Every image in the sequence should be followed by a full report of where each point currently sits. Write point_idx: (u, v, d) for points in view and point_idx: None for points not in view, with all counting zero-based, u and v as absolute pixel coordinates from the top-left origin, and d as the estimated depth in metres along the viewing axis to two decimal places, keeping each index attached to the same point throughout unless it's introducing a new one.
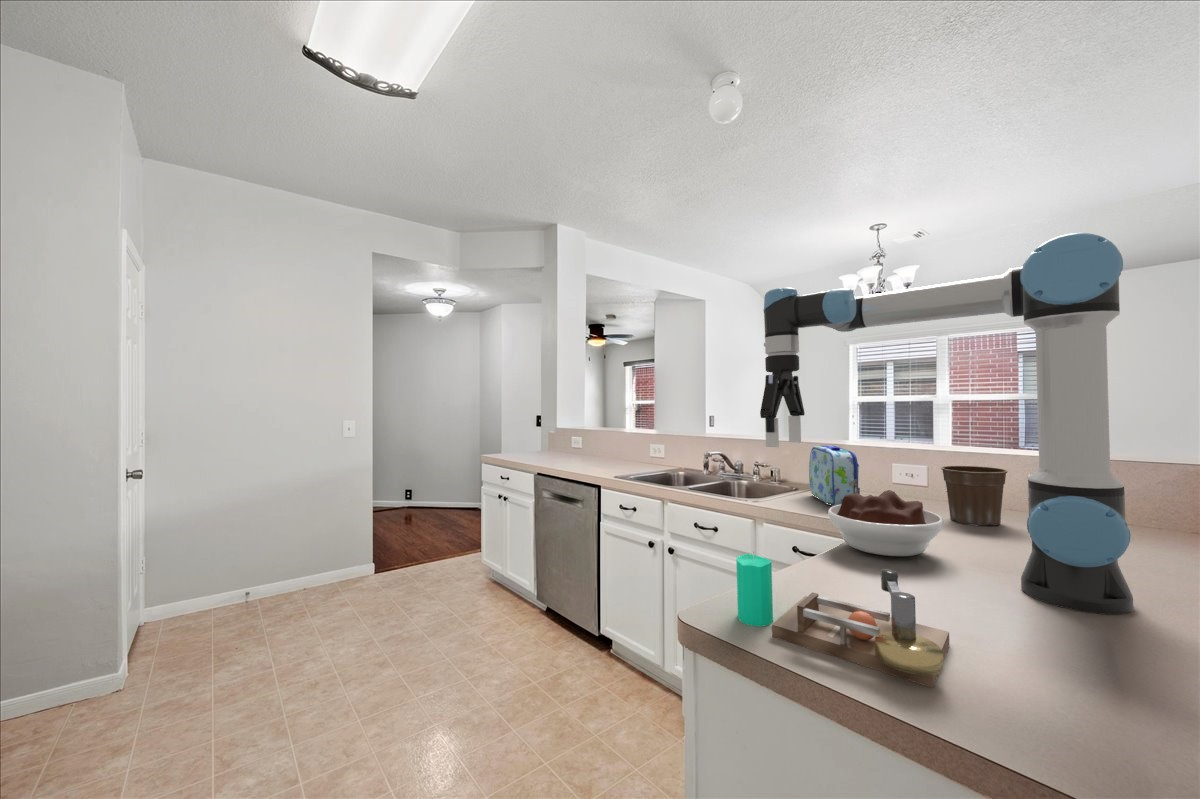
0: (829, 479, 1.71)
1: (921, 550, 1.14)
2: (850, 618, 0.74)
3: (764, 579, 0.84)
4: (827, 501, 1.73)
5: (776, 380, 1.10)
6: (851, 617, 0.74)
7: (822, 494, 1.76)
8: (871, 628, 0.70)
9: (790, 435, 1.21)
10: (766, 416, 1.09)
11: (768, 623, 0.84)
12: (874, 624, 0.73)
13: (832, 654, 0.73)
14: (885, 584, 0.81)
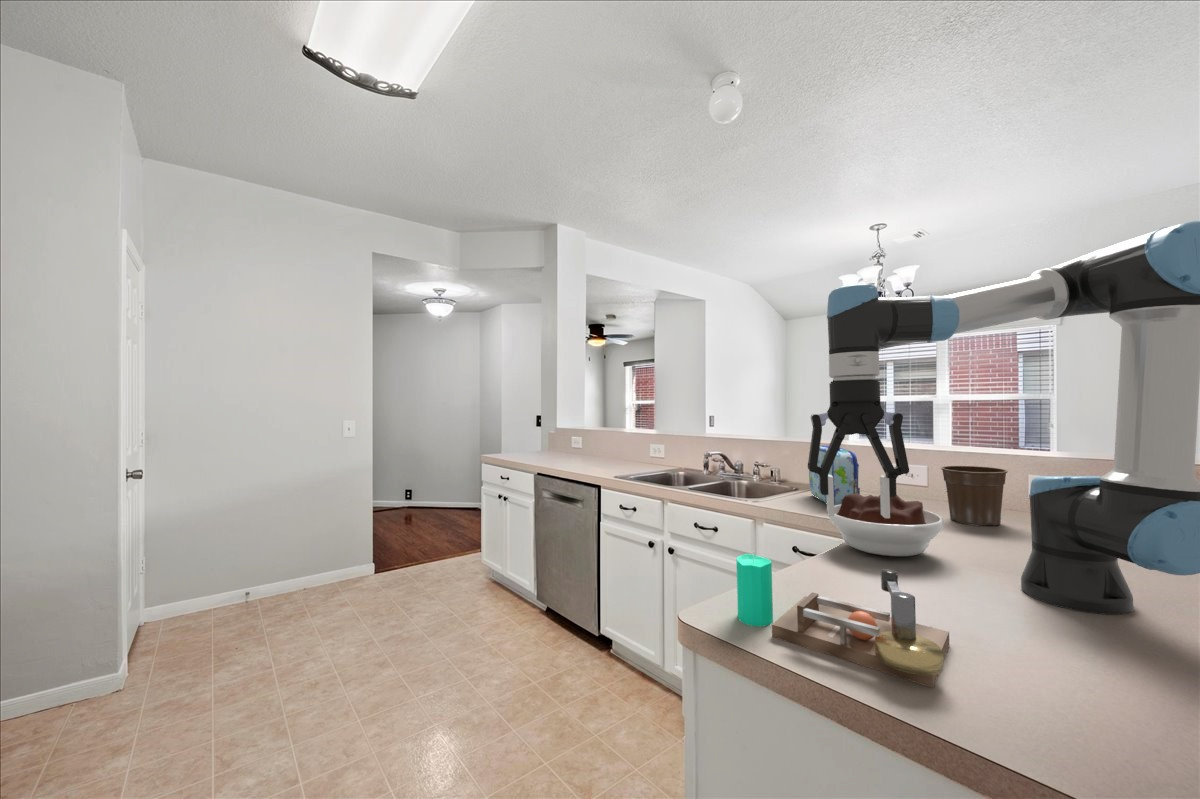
0: None
1: (921, 550, 1.14)
2: (850, 618, 0.74)
3: (764, 579, 0.84)
4: None
5: None
6: (851, 617, 0.74)
7: None
8: (871, 628, 0.70)
9: None
10: None
11: (768, 623, 0.84)
12: (874, 624, 0.73)
13: (832, 654, 0.73)
14: (885, 584, 0.81)
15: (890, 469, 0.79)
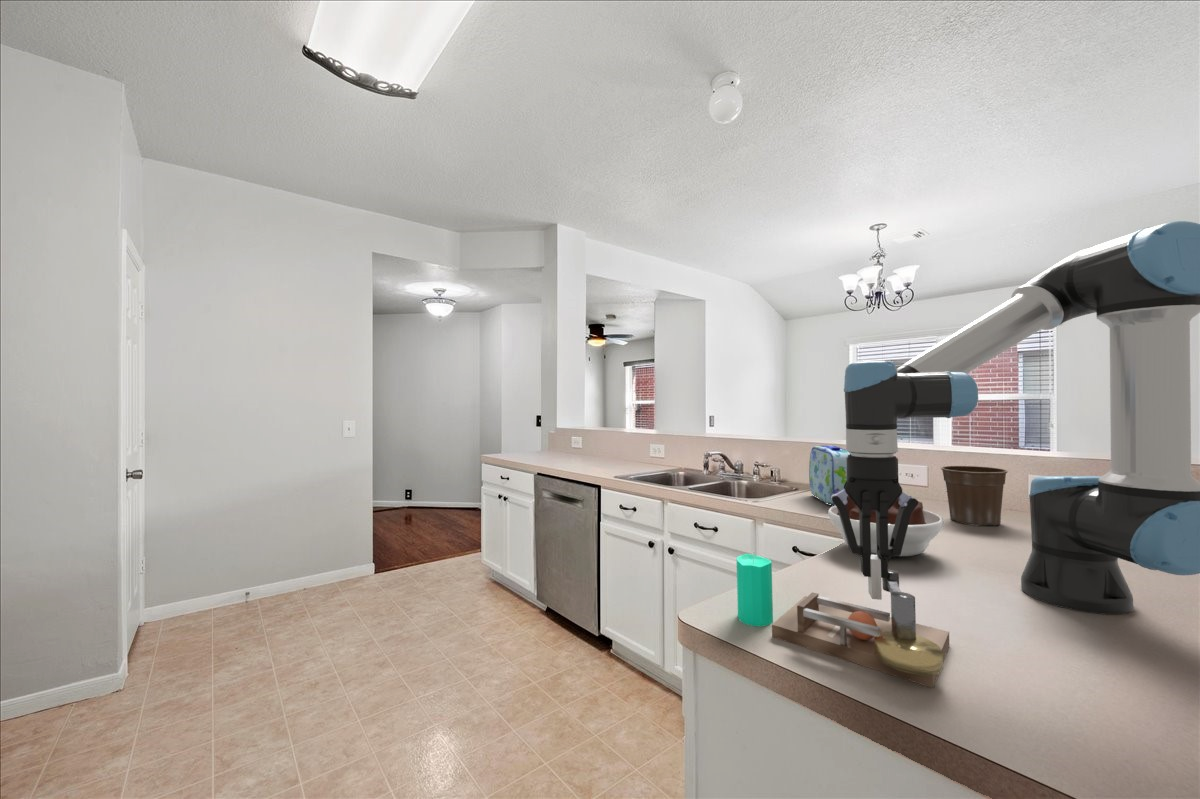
0: (829, 479, 1.71)
1: (921, 550, 1.14)
2: (850, 618, 0.74)
3: (765, 580, 0.84)
4: (827, 501, 1.73)
5: None
6: (851, 617, 0.74)
7: (822, 494, 1.76)
8: (871, 628, 0.70)
9: None
10: None
11: (768, 623, 0.84)
12: (874, 624, 0.73)
13: (832, 654, 0.73)
14: (886, 584, 0.81)
15: (884, 550, 0.79)
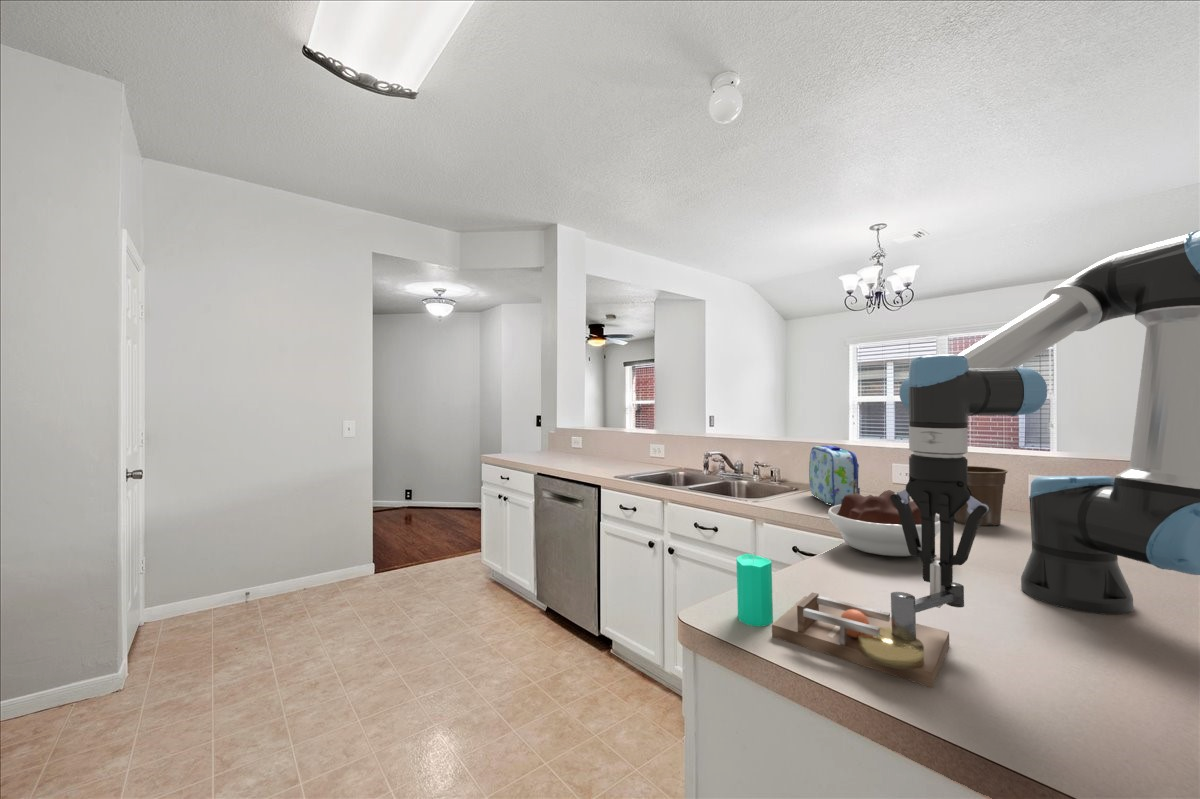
0: (829, 479, 1.71)
1: None
2: (842, 616, 0.75)
3: (765, 579, 0.84)
4: (827, 501, 1.73)
5: None
6: (844, 615, 0.75)
7: (822, 494, 1.76)
8: (871, 628, 0.70)
9: None
10: None
11: (768, 623, 0.84)
12: (866, 622, 0.73)
13: (832, 654, 0.73)
14: None
15: (944, 557, 0.74)
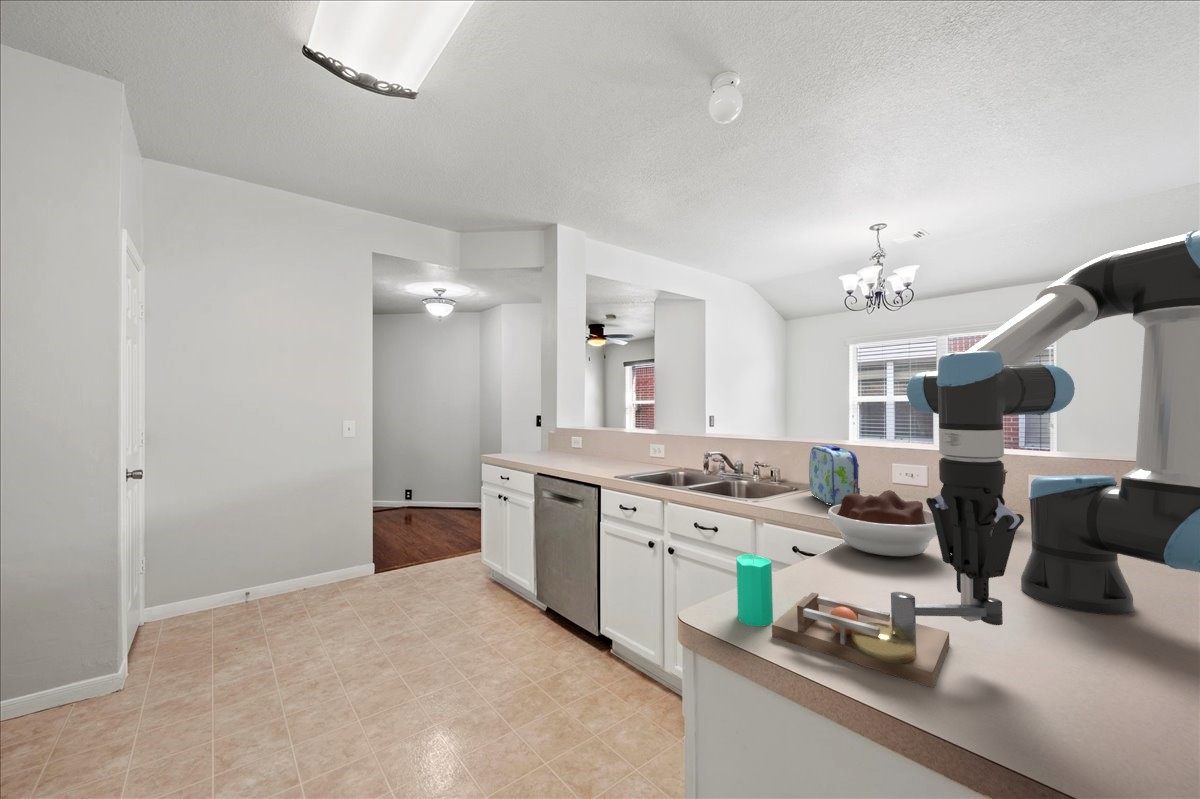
0: (829, 479, 1.71)
1: (921, 550, 1.14)
2: (832, 613, 0.76)
3: (764, 580, 0.84)
4: (827, 501, 1.73)
5: None
6: (833, 612, 0.76)
7: (822, 494, 1.76)
8: (871, 628, 0.70)
9: None
10: None
11: (768, 623, 0.84)
12: (855, 619, 0.74)
13: (832, 654, 0.73)
14: None
15: (973, 568, 0.70)
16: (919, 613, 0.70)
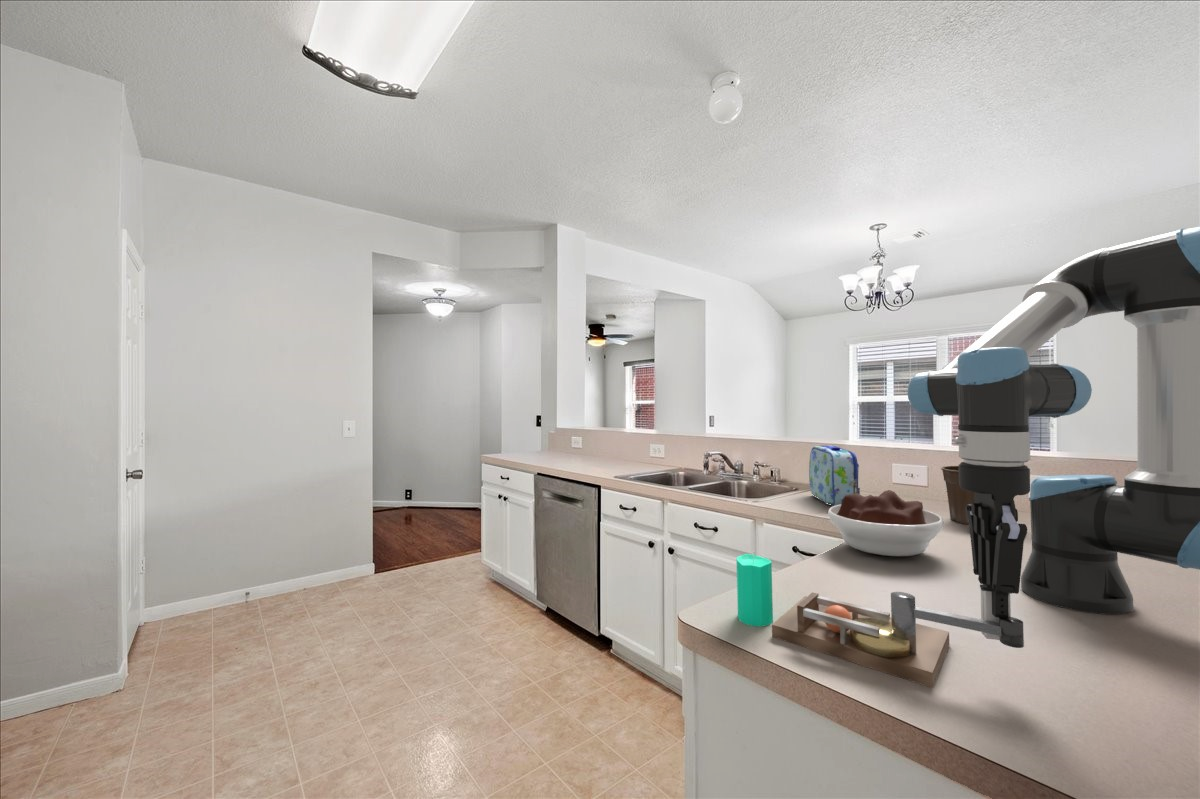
0: (829, 479, 1.71)
1: (921, 550, 1.14)
2: (826, 612, 0.77)
3: (764, 579, 0.84)
4: (827, 501, 1.73)
5: None
6: (827, 611, 0.77)
7: (822, 494, 1.76)
8: (871, 628, 0.70)
9: None
10: (1001, 592, 0.63)
11: (768, 623, 0.84)
12: (849, 617, 0.75)
13: (832, 654, 0.73)
14: None
15: (988, 580, 0.65)
16: (918, 616, 0.69)
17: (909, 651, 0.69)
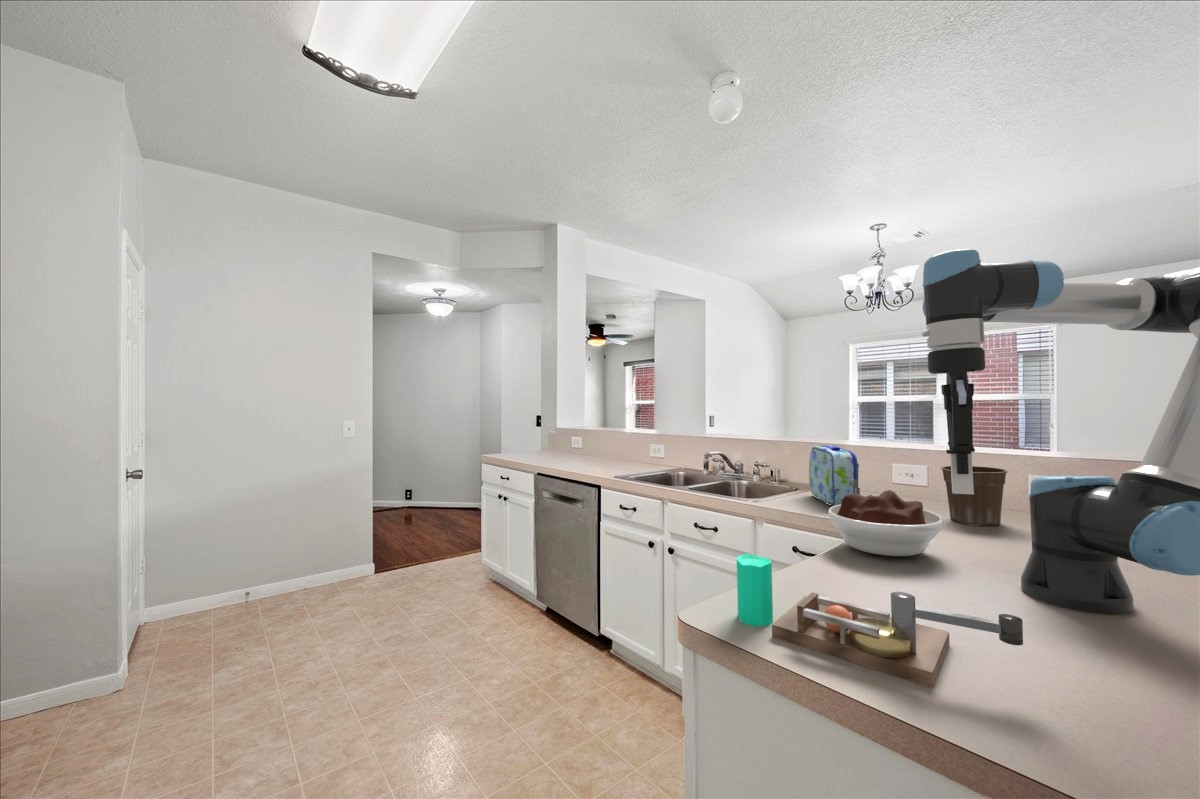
0: (829, 479, 1.71)
1: (921, 550, 1.14)
2: (826, 612, 0.77)
3: (765, 579, 0.84)
4: (827, 501, 1.73)
5: (971, 399, 0.74)
6: (827, 611, 0.77)
7: (822, 494, 1.76)
8: (871, 628, 0.70)
9: None
10: (960, 452, 0.77)
11: (768, 623, 0.84)
12: (849, 617, 0.75)
13: (832, 654, 0.73)
14: None
15: (951, 445, 0.79)
16: (918, 616, 0.69)
17: (910, 651, 0.69)
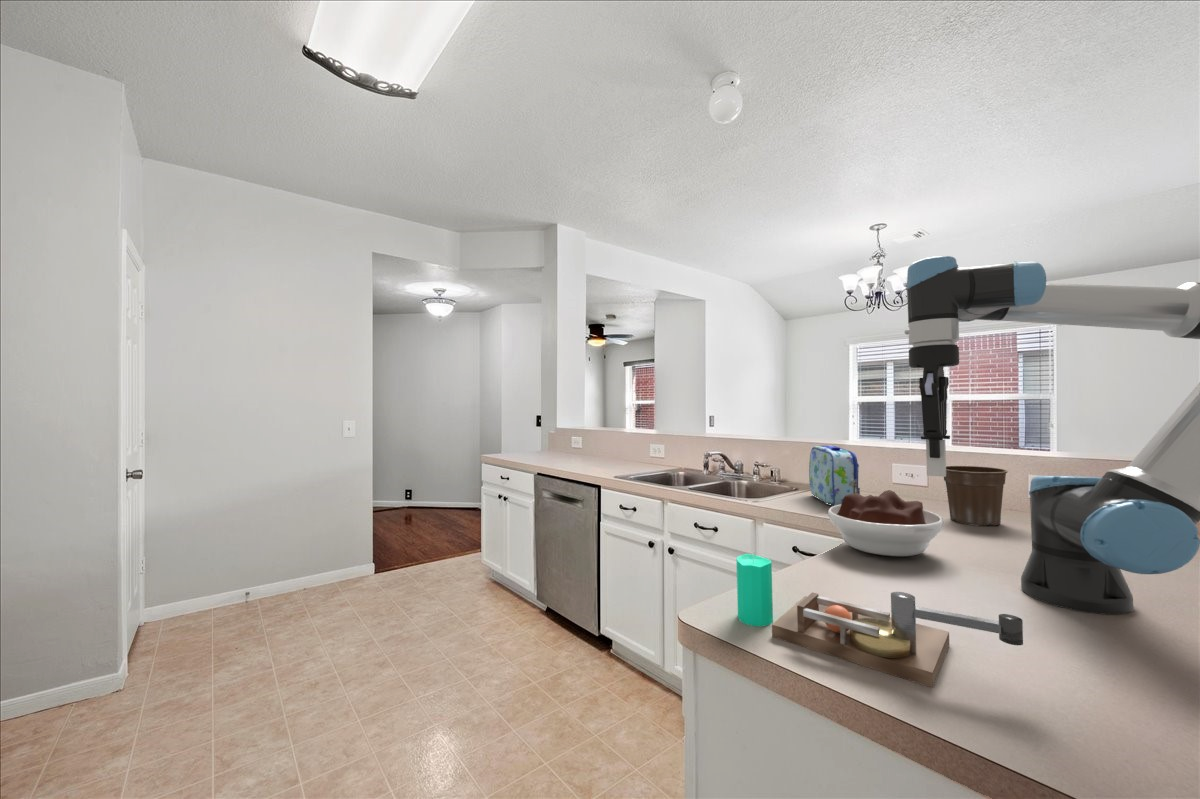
0: (829, 479, 1.71)
1: (921, 550, 1.14)
2: (826, 612, 0.77)
3: (765, 579, 0.84)
4: (827, 501, 1.73)
5: (937, 390, 0.83)
6: (827, 611, 0.77)
7: (822, 494, 1.76)
8: (871, 628, 0.70)
9: None
10: (931, 437, 0.86)
11: (768, 623, 0.84)
12: (849, 617, 0.75)
13: (832, 654, 0.73)
14: None
15: None
16: (918, 616, 0.69)
17: (910, 651, 0.69)
